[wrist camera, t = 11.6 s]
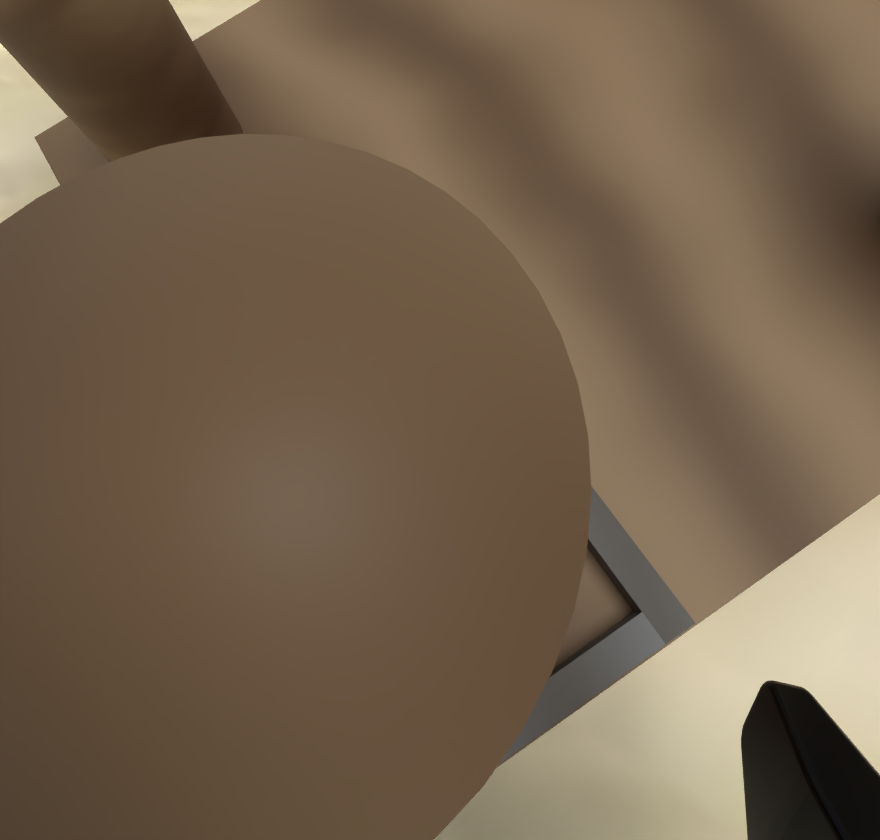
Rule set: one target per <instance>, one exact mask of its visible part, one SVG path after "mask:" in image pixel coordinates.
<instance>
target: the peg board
mask: <svg viewBox="0 0 880 840" xmlns="http://www.w3.org/2000/svg"><path fill="white" fill-rule="evenodd" d="M0 43H1V44H2V45H3V46H4V47H5V48H6V49H7V51H8V52H9V53H10V54H11V55H12V56H13V57H14V58H15V59H16V60H17V61H18V62H19V64H20V65H21V66H22V67H23V68H24V69H25V70H26V71H27V72H28V73H29V74H30V76H31V77H32V78H33V79H34V80H35V81H36V82H37V83H38V84H39V85H40V86H41V88H42V89H43V90H44V91H45V92H46V93H47V94H48V95H49V96H50V97H51V98H52V100H53V101H54V102H55V103H56V104H57V105H58V106H59V107H60V108H61V109H62V110H63V111H64V113H65V114H66V115H67V116H68V117H67V118H66V119H64V120H62V121H61V122H59V123H57V124H56V125H54V126H52V127H51V128H49V129H47V130H46V131H44V132H42V133H41V134H39V135H38V136H36V137H35V139H36V141H37V143H38V145H39V147H40V148H41V150H42V152H43V154H44V156H45V158H46V159H47V161H48V163H49V165H50V167H51V169H52V171H53V172H54V174H55V176H56V178H57V180H58V182H59V183H60V185H62V184H64V183H66V182H67V181H69V180H71V179H73V178H75V177H77V176H79V175H81V174H83V173H86V172H88V171H90V170H93V169H95V168H97V167H100V166H102V165H104V164H107V163H109V162H111V161H114V160H116V159H119V158H122V157H125V156H128V155H131V154H135V153H138V152H141V151H144V150H148V149H151V148H154V147H157V146H161V145H166V144H171V143H176V142H181V141H186V140H191V139H196V138H201V137H213V136H224V135H236V134H268V135H289V136H296V137H303V138H309V139H316V140H323V141H329V142H332V143H336V144H339V145H343V146H347V147H350V148H354V149H357V150H361V151H365V152H368V153H371V154H373V155H375V156H378V157H380V158H382V159H385V160H387V161H389V162H392V163H394V164H397V165H399V166H401V167H404V168H406V169H408V170H410V171H412V172H413V173H415V174H417V175H418V176H420V177H422V178H423V179H425V180H427V181H428V182H430V183H432V184H434V185H435V186H437V187H439V188H440V189H442V190H444V191H445V192H447V193H448V194H449V195H450V196H452V197H453V198H454V199H455V200H457V201H458V202H459V203H460V204H462V205H463V206H464V207H465V208H467V209H468V210H469V211H470V212H472V213H473V214H474V215H475V216H477V217H478V218H479V219H480V220H481V221H482V222H483V223H484V224H485V225H486V226H487V227H488V228H489V229H490V230H491V231H492V232H493V233H494V235H495V236H496V237H497V238H498V239H499V240H500V241H501V242H502V243H503V244H504V245H505V246H506V247H507V248H508V249H509V250H510V251H511V253H512V254H513V255H514V257H515V258H516V260H517V261H518V262H519V264H520V265H521V267H522V268H523V270H524V271H525V272H526V274H527V275H528V277H529V278H530V279H531V281H532V282H533V284H534V285H535V286H536V288H537V289H538V291H539V293H540V295H541V297H542V298H543V300H544V302H545V304H546V306H547V308H548V310H549V312H550V314H551V316H552V318H553V320H554V322H555V324H556V326H557V328H558V330H559V331H560V333H561V336H562V339H563V342H564V345H565V347H566V350H567V353H568V356H569V359H570V362H571V365H572V368H573V370H574V373H575V376H576V379H577V382H578V386H579V391H580V396H581V401H582V407H583V412H584V417H585V422H586V427H587V432H588V440H589V457H590V475H591V492H592V493H591V505H590V518H589V531H588V544H587V553H586V558H585V562H584V567H583V572H582V576H581V581H580V586H579V590H578V595H577V600H576V604H575V609H574V613H573V616H572V618H571V621H570V624H569V627H568V630H567V632H566V635H565V638H564V641H563V643H562V646H561V649H560V652H559V655H558V657H557V660H556V663H555V666H554V669H553V671H552V674H551V675H550V677H549V679H548V681H547V683H546V685H545V687H544V689H543V691H542V693H541V695H540V697H539V699H538V701H537V703H536V704H535V706H534V708H533V710H532V712H531V714H530V716H529V718H528V720H527V722H526V724H525V726H524V728H523V730H522V731H521V733H520V734H519V736H518V737H517V739H516V740H515V741H514V743H513V744H512V746H511V747H510V749H509V750H508V751H507V753H506V754H505V756H504V757H503V759H502V760H501V761H500V763H499V764H498V766H499V765H501V764H502V763H504V762H505V761H506V760H508V759H509V758H511V757H512V756H513V755H515V754H516V753H518V752H519V751H520V750H522V749H523V748H525V747H526V746H527V745H529V744H530V743H532V742H533V741H534V740H536V739H537V738H539V737H540V736H541V735H543V734H544V733H546V732H547V731H548V730H550V729H551V728H553V727H554V726H555V725H557V724H558V723H560V722H561V721H562V720H564V719H565V718H567V717H568V716H569V715H571V714H572V713H574V712H575V711H576V710H578V709H579V708H581V707H582V706H583V705H585V704H586V703H588V702H589V701H590V700H592V699H593V698H595V697H596V696H597V695H599V694H600V693H602V692H603V691H604V690H606V689H607V688H609V687H610V686H611V685H613V684H614V683H616V682H617V681H618V680H620V679H621V678H623V677H624V676H625V675H627V674H628V673H630V672H631V671H632V670H634V669H635V668H637V667H638V666H639V665H641V664H642V663H644V662H645V661H646V660H648V659H649V658H651V657H652V656H653V655H655V654H656V653H658V652H659V651H660V650H662V649H663V648H665V647H666V646H667V645H669V644H670V643H672V642H673V641H675V640H676V639H677V638H679V637H680V636H682V635H683V634H684V633H686V632H687V631H689V630H690V629H691V628H693V627H694V626H696V625H697V624H698V623H700V622H701V621H703V620H704V619H705V618H707V617H708V616H710V615H711V614H712V613H714V612H715V611H717V610H718V609H719V608H721V607H722V606H724V605H725V604H726V603H728V602H729V601H731V600H732V599H733V598H735V597H736V596H738V595H739V594H740V593H742V592H743V591H745V590H746V589H747V588H749V587H750V586H752V585H753V584H754V583H756V582H757V581H759V580H760V579H761V578H763V577H764V576H766V575H767V574H768V573H770V572H771V571H773V570H774V569H775V568H777V567H778V566H780V565H781V564H782V563H784V562H785V561H787V560H788V559H789V558H791V557H792V556H794V555H795V554H796V553H798V552H799V551H801V550H802V549H803V548H805V547H806V546H808V545H809V544H810V543H812V542H813V541H815V540H816V539H817V538H819V537H820V536H822V535H823V534H824V533H826V532H827V531H829V530H830V529H831V528H833V527H834V526H836V525H837V524H838V523H840V522H841V521H843V520H844V519H845V518H847V517H848V516H850V515H851V514H852V513H854V512H855V511H857V510H858V509H859V508H861V507H862V506H864V505H865V504H866V503H868V502H869V501H871V500H872V499H873V498H875V497H876V496H878V495H879V494H880V0H261V1H259V2H257V3H256V4H254V5H252V6H251V7H249V8H247V9H246V10H244V11H242V12H241V13H239V14H237V15H236V16H234V17H232V18H231V19H229V20H227V21H226V22H224V23H223V24H221V25H219V26H218V27H216V28H214V29H213V30H211V31H209V32H208V33H206V34H204V35H203V36H201V37H199V38H198V39H196V40H194V41H193V42H192V40H191V38H190V37H189V35H188V33H187V31H186V30H185V28H184V26H183V24H182V23H181V21H180V19H179V17H178V16H177V14H176V12H175V11H174V9H173V7H172V5H171V4H170V2H169V0H0ZM498 766H497V767H498ZM497 767H496V768H497Z"/></svg>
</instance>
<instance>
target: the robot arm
mask: <svg viewBox="0 0 880 840" xmlns="http://www.w3.org/2000/svg"><path fill="white" fill-rule="evenodd" d="M741 750H742V764H743V778H744V792H745V806H746V820H747V834H748V840H880V775H879V773H878V772H877V771H876V770H875V769H874V767H873V766H872V765H871V764H870V763H869V762H868V760H867V759H866V758H865V757H864V756H863V754H862V753H861V752H860V751H859V750H858V749H857V747H856V746H855V745H854V744H853V743H852V741H851V740H850V739H849V738H848V737H847V736H846V734H845V733H844V732H843V731H842V730H841V729H840V727H839V726H838V725H837V724H836V723H835V721H834V720H833V719H832V718H831V717H830V716H829V714H828V713H827V712H826V711H825V710H824V708H823V707H822V706H821V705H820V704H819V703H818V701H817V700H816V699H815V698H814V697H813V696H812V694H811V693H810V692H808V691H807V690H806V689H804V688H802V687H799V686H795V685H790V684H786V683H781V682H777V681H767V682H765V683H764V684H763V685H762V686H761V688H760V690H759V692H758V694H757V696H756V699H755V701H754V703H753V705H752V707H751V709H750V712H749V714H748V716H747V718H746V720H745V723H744V725H743V729H742V736H741Z"/></svg>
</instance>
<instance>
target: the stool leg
mask: <svg viewBox="0 0 880 840" xmlns="http://www.w3.org/2000/svg"><path fill="white" fill-rule="evenodd" d="M591 493H592V492H591V475H590V457H589V440H588V432H587V427H586V422H585V417H584V412H583V407H582V401H581V396H580V391H579V386H578V382H577V379H576V376H575V373H574V370H573V368H572V365H571V362H570V359H569V356H568V353H567V350H566V347H565V345H564V342H563V339H562V336H561V333H560V331H559V330H558V328H557V326H556V324H555V322H554V320H553V318H552V316H551V314H550V312H549V310H548V308H547V306H546V304H545V302H544V300H543V298H542V297H541V295H540V293H539V291H538V289H537V288H536V286H535V285H534V284H533V282H532V281H531V279H530V278H529V277H528V275H527V274H526V272H525V271H524V270H523V268H522V267H521V265H520V264H519V262H518V261H517V260H516V258H515V257H514V255H513V254H512V253H511V251H510V250H509V249H508V248H507V247H506V246H505V245H504V244H503V243H502V242H501V241H500V240H499V239H498V238H497V237H496V236H495V235H494V233H493V232H492V231H491V230H490V229H489V228H488V227H487V226H486V225H485V224H484V223H483V222H482V221H481V220H480V219H479V218H478V217H477V216H475V215H474V214H473V213H472V212H470V211H469V210H468V209H467V208H465V207H464V206H463V205H462V204H460V203H459V202H458V201H457V200H455V199H454V198H453V197H452V196H450V195H449V194H448V193H447V192H445V191H444V190H442V189H440V188H439V187H437V186H435V185H434V184H432V183H430V182H428V181H427V180H425V179H423V178H422V177H420V176H418V175H417V174H415V173H413V172H412V171H410V170H408V169H406V168H404V167H401V166H399V165H397V164H394V163H392V162H389V161H387V160H385V159H382V158H380V157H378V156H375V155H373V154H371V153H368V152H365V151H361V150H357V149H354V148H350V147H347V146H343V145H339V144H336V143H332V142H329V141H323V140H316V139H309V138H303V137H296V136H289V135H268V134H236V135H224V136H213V137H201V138H196V139H191V140H186V141H181V142H176V143H171V144H166V145H161V146H157V147H154V148H151V149H148V150H144V151H141V152H138V153H135V154H131V155H128V156H125V157H122V158H119V159H116V160H114V161H111V162H109V163H107V164H104V165H102V166H100V167H97V168H95V169H93V170H90V171H88V172H86V173H83V174H81V175H79V176H77V177H75V178H73V179H71V180H69V181H67V182H66V183H64V184H62V185H60V186H58V187H57V188H55V189H53V190H51V191H49V192H47V193H46V194H44V195H42V196H40V197H38V198H37V199H35V200H34V201H33V202H31V203H30V204H28V205H27V206H25V207H24V208H22V209H21V210H19V211H18V212H16V213H15V214H14V215H12V216H11V217H9V218H8V219H6V220H5V221H3V222H2V223H0V840H433V839H434V838H435V837H437V836H438V835H439V833H440V832H441V831H442V830H443V829H444V828H445V827H446V826H447V825H448V824H449V823H450V822H451V820H452V819H453V818H454V817H455V816H456V815H457V814H458V813H459V812H460V811H461V810H462V809H463V807H464V806H465V805H466V804H467V803H468V802H469V801H470V800H471V799H472V798H473V797H474V796H475V794H476V793H477V792H478V791H479V790H480V789H481V788H482V787H483V786H484V784H485V783H486V781H487V780H488V779H489V777H490V776H491V774H492V773H493V771H494V770H495V769H496V767H497V766H498V764H499V763H500V761H501V760H502V759H503V757H504V756H505V754H506V753H507V751H508V750H509V749H510V747H511V746H512V744H513V743H514V741H515V740H516V739H517V737H518V736H519V734H520V733H521V731H522V730H523V728H524V726H525V724H526V722H527V720H528V718H529V716H530V714H531V712H532V710H533V708H534V706H535V704H536V703H537V701H538V699H539V697H540V695H541V693H542V691H543V689H544V687H545V685H546V683H547V681H548V679H549V677H550V675H551V674H552V671H553V669H554V666H555V663H556V660H557V657H558V655H559V652H560V649H561V646H562V643H563V641H564V638H565V635H566V632H567V630H568V627H569V624H570V621H571V618H572V616H573V613H574V609H575V604H576V600H577V595H578V590H579V586H580V581H581V576H582V572H583V567H584V562H585V558H586V553H587V544H588V531H589V518H590V505H591Z"/></svg>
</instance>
